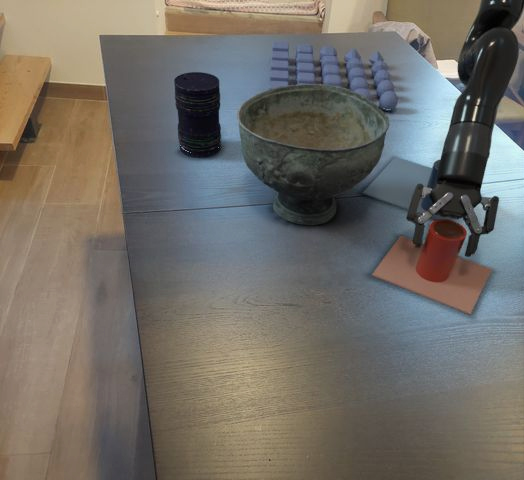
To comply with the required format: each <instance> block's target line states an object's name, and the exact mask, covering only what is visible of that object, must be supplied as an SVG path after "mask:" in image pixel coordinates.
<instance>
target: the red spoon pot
mask: <svg viewBox="0 0 524 480" xmlns="http://www.w3.org/2000/svg"><path fill="white" fill-rule="evenodd" d="M467 235H468V231H467V229H466V228H465V226H463V225H462V224H461V223H459V222H457V221H455V220H452V219H451V220H447V219H439V220H436V219H434V220H433V221H432V222H430V224H429V227H428V229H427V233H426V235H425V238H424V241H423V243H422V244H423V247H422V250H421V253H420V256H419V259H418V262H417V264H416V272H417V274H418V275H419V276H420V277H422V278H423V279H425V280H428V281H431V282H443V281H446V280H447V279H448V278H449V277H450V274H451V272H452V270H453V267H454V265H455V262H456V260H457V257H459V255H460V252H461V250H462V247H463V245H464V243H465V240H466V238H467Z"/></svg>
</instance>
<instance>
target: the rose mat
mask: <svg viewBox="0 0 524 480" xmlns="http://www.w3.org/2000/svg"><path fill="white" fill-rule="evenodd" d="M412 240H413V239H410V238H408V237H405V236H403V235H399V237H398V238H397V240H396V241H395V243H394V244H393V245H392V246H391V248H390V249H389V251H388V252H387V254H386V255H385V256H384V257H383V259H382V260H381V262H380V263H379V264H378V266H377V267H376V268H375V270H374V271H373V273H372V274H371V277H374V278H377V279H379V280H381V281H384V282H386V283H389V284H391V285H394V286H396V287H399V288H402V289H404V290H406V291H409V292H412V293H414V294H416V295H419V296H422V297H424V298H427V299H429V300H431V301H434V302H437V303H439V304H441V305H444V306H446V307H449V308H450V309H454V310H457V311H459V312H461V313H463V314H466V315H469V316H470V315H472V312H473V310H474V308H475V306H476V304H477V302H478V300H479V297H480V295H481V293H482V291H483V290H484V288H485V285H486V283H487V281H488V279H489V277H490V274H491V273H492V271H493V269H492V268H490V267H487V266H485V265H483V264H482V265H481V264H479V263H476V262H474V261H472V260H469V259H465V258H463V257H460V256H458V257H457V260H456V262H455V265H454V267H453V270H452V272H451V274H450V277H449V278H448V279H447V280H446V281H443V282H431V281H428V280H425V279H423V278H422V277H420V276H419V275H418V274H417V272H416V264H417V262H418V259H419V256H420V253H421V250H422V247H423V244H424V243H423V242H422V243H421V246H420V248H415V244H413V242H412Z"/></svg>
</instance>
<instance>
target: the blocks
mask: <svg viewBox="0 0 524 480" xmlns="http://www.w3.org/2000/svg"><path fill="white" fill-rule="evenodd" d="M271 47H272V49H271V62H270V75H269V88H268V90H270V89H273V88H276V87H280V86H288V85H289V69H290V68H289V67H290V66H289V65H290V64H289V61H290V60H289V59H290V58H289V56H290V54H289V52H290V51H289V50H290V43H289V42H286V41H284V42H283V41H272V46H271ZM295 49H296V50H295V69H296V68H297V71H296V70H295V80H296V79H297V83H296V82H295V85H298V84H316V75H315V72H316V71H315V64H314V63H315V57H314V46H313V45H312V44H310V43H308V44H307V43H298V44H297V46H296V48H295ZM296 58H297V60H296ZM361 58H362V57H361V55H360V53H359V52H358V50H357V49H356V48H351V49H350V50H348V52H346V53H345V54H344V56H343V60H344V62H345V61H346V62H348V63H346V62H345V63H346V64H345V71H346V72H345V73H346V75H347V83H348V82H349V84H350V85H349V84H348V85H349V89H348V90H351V91H353V92H356V93H358V94H361V95H363V96H364V97H366V98H367V99H368V100H370V101H372V95H371V92H370V90H369V83H368V81H367V79H366V77H367V76H366V71H365V70H364V64H363V60H362V59H361ZM320 60H322V61H321V63H320V71H321V70H322V73H321V72H320V74H321V82H322V81H323V84H328V85H334V86H338V87H341V88H343V87H342V86H343V79H342V77H341V69H340V66H339V65H340V62H339V58H338V50H337V49H336V48H335V46H330V45H325V46H323V47H322V48H321V49H320V53H319V61H320ZM368 61H369V62H370V64H371V65H372V64H373V65H372V67H371V68H370V72H371V76H372V77H373V84H374V85H375V87H376V88H375V89H376V91H375V92H376V95H377V97H378V98H379V103H378V104H379V107H380V106H381V107H382V108H381V107H380V108H381V110H382V111H383V112H391V111H393V110H394V109H396V108H397V106H398V103H399V97H398V95H397V93H396V92H395V84H394V83H393V82H392V78H391V74H390V72H389V70H388V65H387V64H388V63H386V62H385V59H384V57H383V55H382V54H381V53H380V51H379V50H377V51H376V52H375V53H373V54H372V55H371V56H370V57H369V58H368ZM347 73H348V74H347ZM383 108H385V109H383ZM386 109H392V110H386Z"/></svg>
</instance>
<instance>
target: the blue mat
mask: <svg viewBox="0 0 524 480" xmlns="http://www.w3.org/2000/svg"><path fill="white" fill-rule="evenodd" d="M431 171H432V167H430V166H426V165H423V164H420V163H416V162H413V161H410V160H407V159H404V158H401V157H398V156H395V157H393V159H392V160H391V161H390V162H389V163H388V165H386V167H385V168H384V169H383V170H382V171H381V172H380V173H379V174H378V175H377V176H376V177H375V179H374V180H372V182H371V183H370V184H369V185H368V186H367V187H366V188H365V190H364V191H363V192H362V195H364V196H367V197H369V198H372V199H376V200H377V201H380V202H384V203H387V204H389V205H393V206H396V207H399V208H402V209H404V210H407V211H408V210H409V206H410V203H411V199H412V196H413V193H414V189H415V188H416V186H417V184H422V185H423V186H424V187H426V186H427V183H428V180H429V177H430V174H431ZM421 202H422V200H420V201H419V204H418V208H417V211H416V214H417V215H420V216H422V215H423V214H424V213H425V212H426V211H425V210H424V209H423V208H422V206H421ZM430 219H432V220H439V219H447V220H452V218H451V217H441V216H440V215H433V216H432V217H431V218H430Z"/></svg>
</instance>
